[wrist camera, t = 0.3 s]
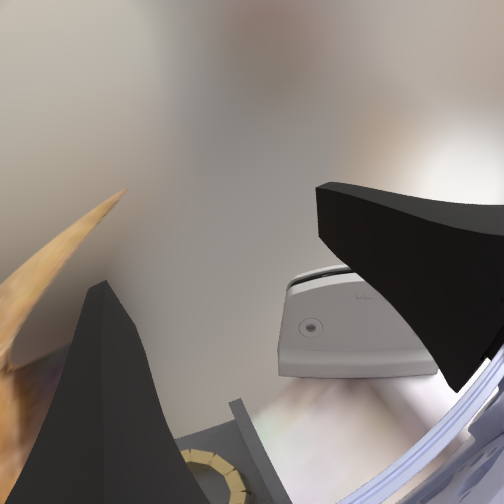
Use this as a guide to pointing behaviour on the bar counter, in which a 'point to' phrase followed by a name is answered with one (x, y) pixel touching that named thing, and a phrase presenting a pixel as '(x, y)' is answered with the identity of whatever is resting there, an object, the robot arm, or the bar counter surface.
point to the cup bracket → (232, 463)
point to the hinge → (345, 330)
